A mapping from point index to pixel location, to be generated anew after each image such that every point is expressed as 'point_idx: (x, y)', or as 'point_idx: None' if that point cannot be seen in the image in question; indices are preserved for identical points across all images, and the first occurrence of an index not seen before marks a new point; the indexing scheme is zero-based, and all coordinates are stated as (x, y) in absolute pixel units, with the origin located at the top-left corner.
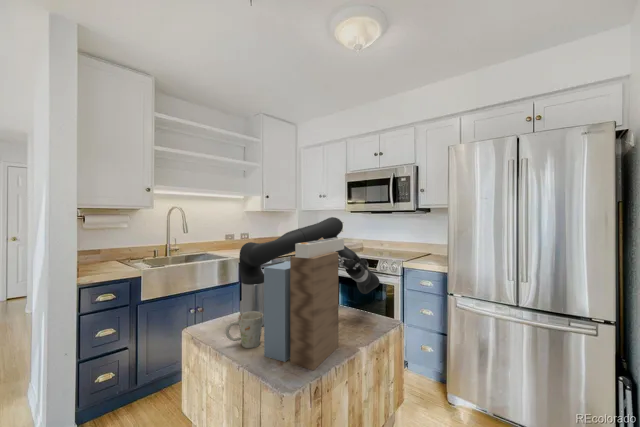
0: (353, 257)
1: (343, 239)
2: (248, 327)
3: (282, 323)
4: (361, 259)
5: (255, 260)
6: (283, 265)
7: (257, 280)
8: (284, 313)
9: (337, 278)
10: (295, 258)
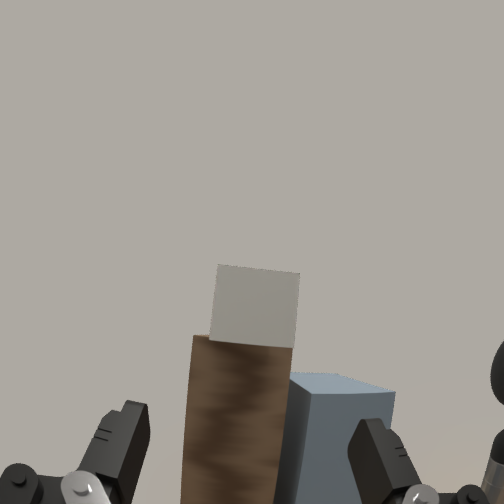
0: (146, 425)
1: (217, 274)
2: None
3: None
4: (59, 478)
5: (492, 384)
6: (325, 378)
7: (494, 448)
8: None
9: (185, 434)
10: None
